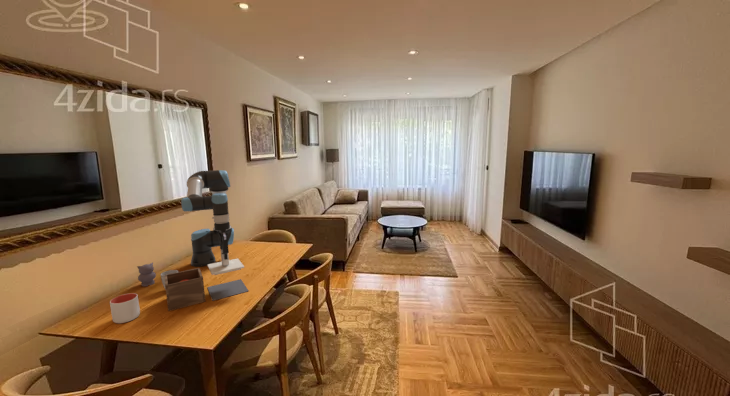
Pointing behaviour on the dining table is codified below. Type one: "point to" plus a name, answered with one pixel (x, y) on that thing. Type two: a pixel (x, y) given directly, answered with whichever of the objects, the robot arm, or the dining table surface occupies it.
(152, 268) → the cat figurine
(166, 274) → the cup
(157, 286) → the dining table surface
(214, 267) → the lid
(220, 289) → the mat
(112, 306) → the cup
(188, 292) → the box
